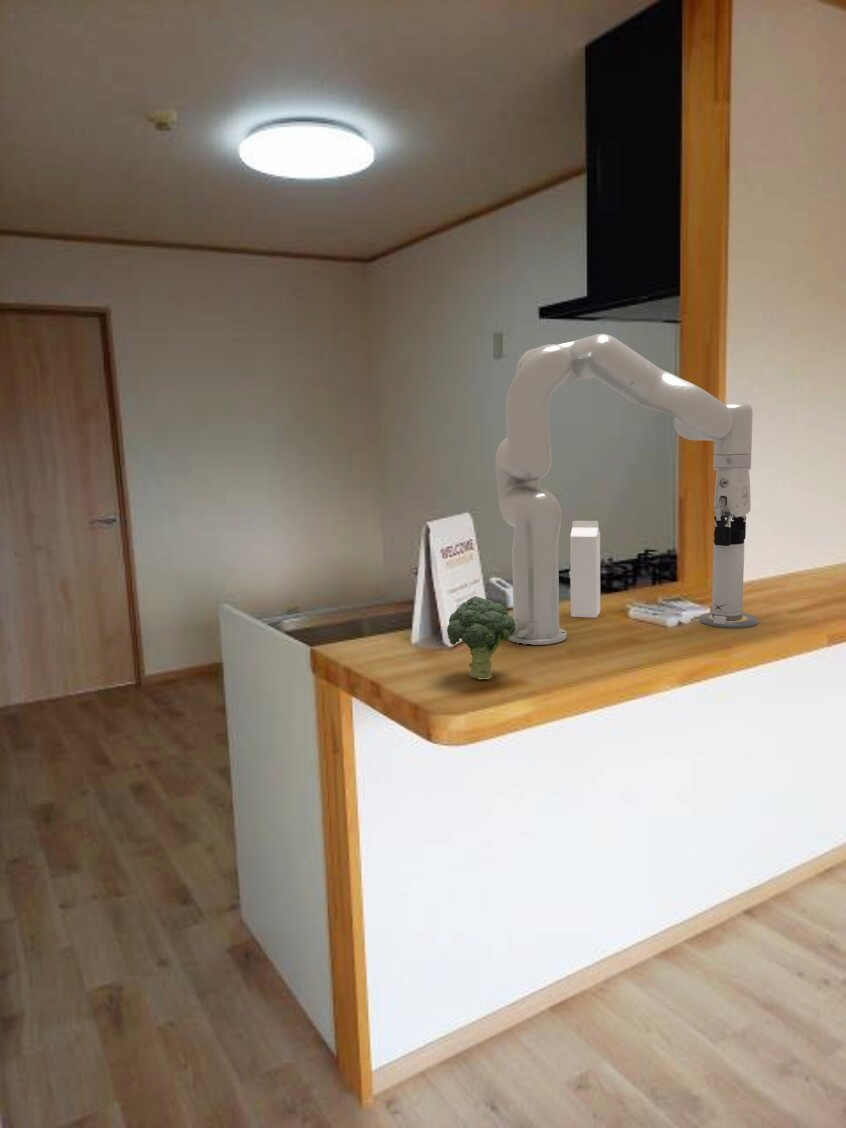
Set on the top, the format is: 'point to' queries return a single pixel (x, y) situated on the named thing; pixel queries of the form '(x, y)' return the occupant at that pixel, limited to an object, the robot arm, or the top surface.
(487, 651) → the vegetable
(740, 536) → the travel mug
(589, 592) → the milk
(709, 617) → the base
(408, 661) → the top surface
